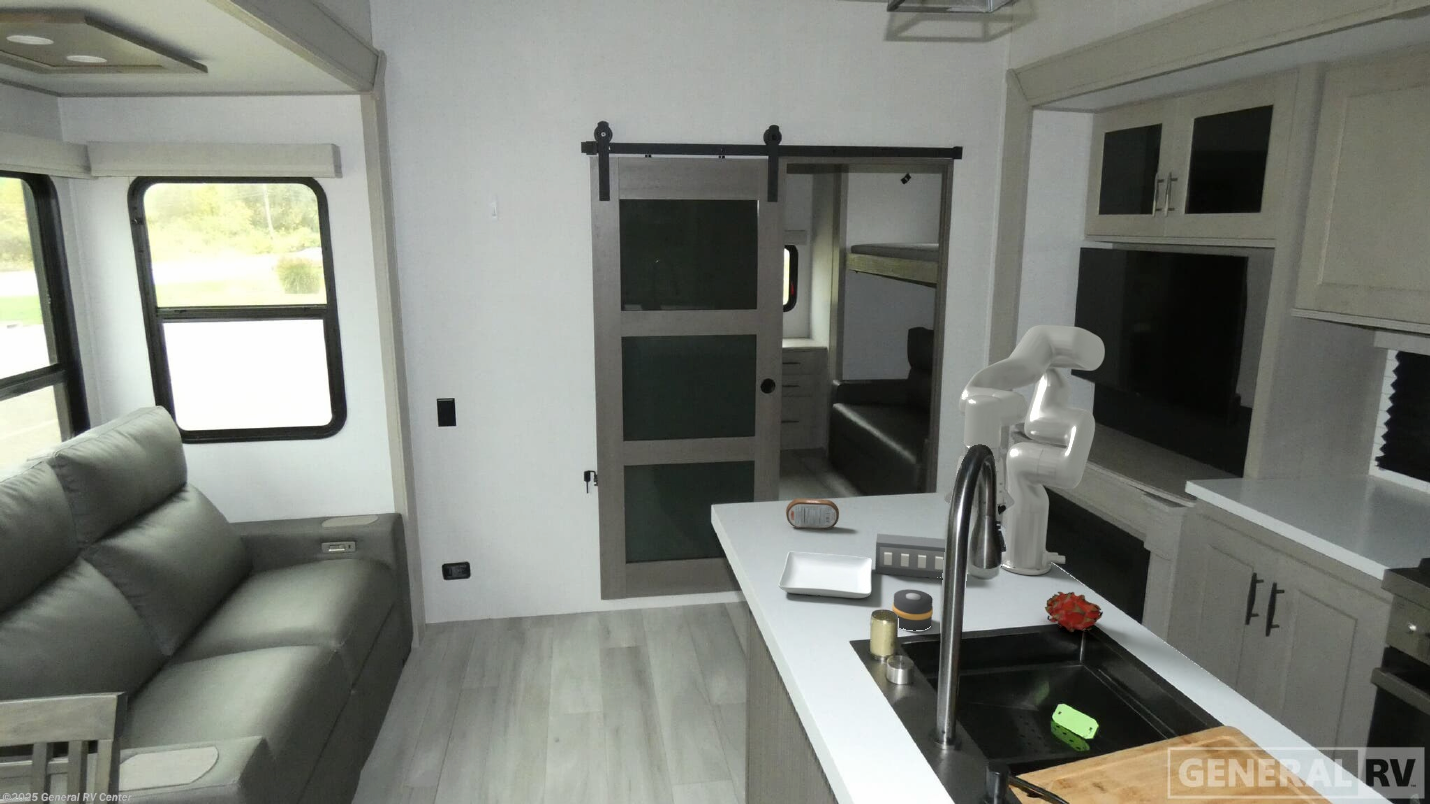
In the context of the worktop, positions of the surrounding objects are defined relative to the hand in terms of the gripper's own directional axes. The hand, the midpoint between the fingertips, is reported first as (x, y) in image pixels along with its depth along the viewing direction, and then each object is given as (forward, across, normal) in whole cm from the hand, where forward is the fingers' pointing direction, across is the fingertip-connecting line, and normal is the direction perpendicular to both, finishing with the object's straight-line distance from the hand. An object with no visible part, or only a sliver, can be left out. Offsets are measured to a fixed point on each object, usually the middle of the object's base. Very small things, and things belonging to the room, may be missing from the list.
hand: (977, 531), depth 177 cm
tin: (+18, +41, -40) cm, 60 cm away
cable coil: (+17, +13, +13) cm, 25 cm away
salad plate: (+18, +33, -4) cm, 38 cm away
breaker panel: (+18, +13, -15) cm, 27 cm away
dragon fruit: (+18, -20, +7) cm, 27 cm away
